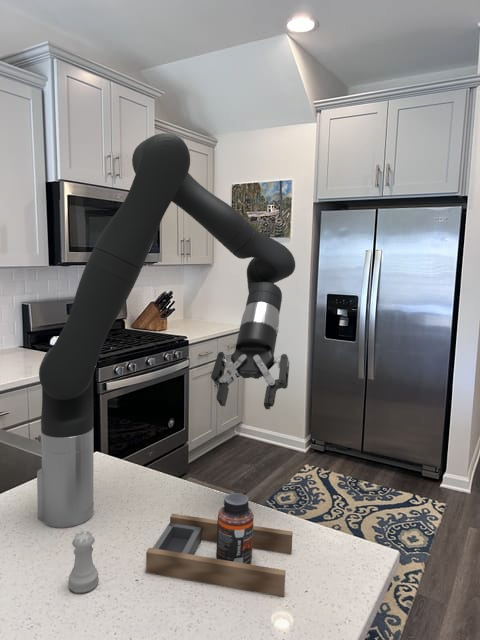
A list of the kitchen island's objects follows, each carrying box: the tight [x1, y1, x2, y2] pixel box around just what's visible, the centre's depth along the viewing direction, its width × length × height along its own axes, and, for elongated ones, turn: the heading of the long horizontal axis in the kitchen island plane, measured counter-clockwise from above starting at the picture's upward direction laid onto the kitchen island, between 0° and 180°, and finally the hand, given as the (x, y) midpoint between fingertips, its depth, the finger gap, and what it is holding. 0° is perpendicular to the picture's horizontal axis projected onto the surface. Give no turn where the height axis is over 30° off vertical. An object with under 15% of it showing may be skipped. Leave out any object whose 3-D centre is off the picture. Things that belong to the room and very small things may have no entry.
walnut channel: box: [145, 513, 294, 598], centre depth 79 cm, size 22×12×4 cm, turn 78°
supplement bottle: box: [215, 492, 255, 565], centre depth 78 cm, size 6×6×11 cm
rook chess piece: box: [67, 530, 100, 594], centre depth 72 cm, size 4×4×8 cm
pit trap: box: [152, 522, 202, 555], centre depth 81 cm, size 6×9×2 cm, turn 168°
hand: (243, 406), depth 86 cm, fingers open, 8 cm apart
